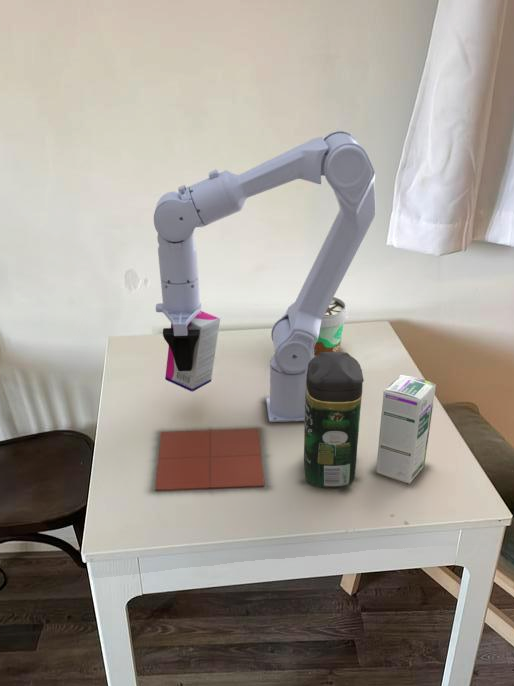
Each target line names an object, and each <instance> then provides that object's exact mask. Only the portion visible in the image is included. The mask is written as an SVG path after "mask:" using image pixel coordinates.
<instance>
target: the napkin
mask: <svg viewBox="0 0 514 686" xmlns="http://www.w3.org/2000/svg"><path fill="white" fill-rule="evenodd" d="M160 432H161V433H160V439H159V440H160V441H159V450H158V459H157V469H156V478H155V492H162V491H163V492H165V491H187V490H190V491H191V490H210V489H213V490H214V489H215V490H216V489H217V490H218V489H237V488H239V489H240V488H264V487H265V479H264V469H263V461H262V451H261V443H260V442H261V441H260V434H259V428H234V429H232V428H231V429H204V430H203V429H202V430H201V429H200V430H175V431H173V430H171V431H160Z"/></svg>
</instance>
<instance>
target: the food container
mask: <svg viewBox="0 0 514 686" xmlns="http://www.w3.org/2000/svg"><path fill="white" fill-rule="evenodd" d="M348 314H349V313H348V309H347V306H346V303H345V302H344V301H343V300H342V299H340V298H338V297H335V296H334V297H333V299H332V301H331V303H330V305H329V307H328V309H327V311H326V312H325V314H324V316H323V318H322V321H321V326H320V331H319V337H318V340H317V342H316V344H315V346H314V357H315V356H317V355H319V354H320V353H321V352H341V351H340V349H341V344H342V337H343V331H344V330H343V329H344V323H345V322H346V321H347V320H348V317H349V315H348Z"/></svg>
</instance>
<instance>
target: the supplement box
mask: <svg viewBox="0 0 514 686" xmlns="http://www.w3.org/2000/svg"><path fill="white" fill-rule="evenodd" d="M220 323H221V318H220V317H217V316H215V315H213V314H210V313H208V312H205V311H203V310H201V311H200V312H199V313H198V314H197V316H196V317H195V318H194V319H193V320H192V321H191V322H190V323H189V324H188V325H187V328H189V330H200V335H199V338H198V340H197V342H196V345H195V348H194V354H193V364H192V369H191V371H178V369H177V366H176V363H175V360H174V356H173V353H172V351H171V348H170V346H169V345H168V349H167V357H166V358H167V359H166V367H165V368H166V369H165V376H164V380H165V381H167V382H168V383H169V382H170V383H172V384H173V385H176V386H179V387H181V388H183V389H185V390H187V391H189V392H192V393H193V392H195V391H196V390H198V389H200V388H202V387H204V386H206V385H207V384H209V383H210V382H212V379H213V371H214V364H215V358H216V352H217V351H216V350H217V344H218V338H219V337H218V336H219V332H220V331H219V330H220ZM170 328H173V324H172V323H171V322H170Z"/></svg>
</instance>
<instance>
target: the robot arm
mask: <svg viewBox="0 0 514 686" xmlns="http://www.w3.org/2000/svg"><path fill="white" fill-rule="evenodd" d="M323 176H324V177H325V180H326V182H327V184H328V185H329V186H330V188H331V189H332V190H333V193H334V195H335V199H336V202H337V204H338V208H339V210H338V213H337V214H336V217H335V218H334V221H333V223H332V225H331V227H330V229H329V231H328V233H327V235H326V237H325V239H324V240H323V241H324V242H323V243H322V245H321V248H320V249H319V251H318V253H317V256H316V257H315V260H314V262H313V264H312V265H311V268H310V271H309V272H308V274H307V277H306V279H305V280H304V283H303V285H302V286H301V289H300V291H299V293H298V295H297V297H296V299H295V301H294V302H293V303H292V304H290V305H289V306H288V307H287V310H286V312H285V314H284V315H283V316H282V317H280V318H279V319H278V320H276V321H275V322H274V324H273V326H272V328H271V333H270V335H271V336H270V337H271V341H272V342H273V349H274V354H273V355H272V356H271V357H270V360H269V397H266V399H265V401H266V409H267V416H268V417H267V418H268V421H269V422H270V423H285V422H305V395H306V379H307V369H308V364H309V362H310V361H311V360H312V359H313V358H314V346H315V344H316V342H317V340H318V337H319V331H320V326H321V321H322V318H323V316H324V314H325V312H326V311H327V309H328V307H329V305H330V303H331V301H332V299H333V297H335V295H336V293H337V292H338V289H339V287H340V285H341V283H342V281H343V280H344V278H345V276H346V274H347V271H348V270H349V268H350V266H351V264H352V262H353V260H354V258H355V256H356V254H357V252H358V250H359V249H360V247H361V245H362V242H363V240H364V238H365V237H366V235H367V234H368V231H369V229H370V227H371V225H372V224H373V221H374V220H375V216H376V213H377V205H376V203H377V202H376V187H375V186H376V185H375V183H376V182H375V179H376V170H375V167H374V165H373V163H372V160H371V158H370V155H369V153H368V152H367V150H366V149H365V148H364V147H363V146H362V145H360V144H359V141H358V140H357V139H356V138H355V136H354V135H352V134H351V133H349V132H348V131H344V130H335V131H332V132H330V133H328V134H327V135H326V136H324V137H323V136H319V137H318V136H317V137H314V138H311V139H310V140H308V141H305V142H303V143H301V144H298V145H297V146H295V147H293V148H291V149H288V150H286V151H285V152H283V153H280V154H278V155H277V156H274V157H273V158H270V159H268V160H266V161H264V162H262V163H260V164H258V165H256V166H254V167H251V168H250V169H248V170H246V171H244V172H242V173H240V174H236V173H233V172H231V171H229V170H223V171H221V172H219V170H218V169H216V168H215V169H214V170H211V171H209V172H208V177H207V178H205V179H202V180H201V181H198V182H197V183H196V182H195V183H194V184H191V185H189V186H187V187H186V185H185V184H183V185H180V186H179V187H178V188H177V192H176V191H169V192H166V193H164V194H163V195H161V196H160V198H159V199H158V201H157V203H156V206H155V209H154V214H153V225H154V228H155V230H156V232H157V238H156V239H157V243H158V247H157V255H158V256H157V257H158V265H159V267H158V268H159V276H160V277H159V278H160V287H161V297H162V298H161V299H162V303H156V304H155V312H156V313H162V314H164V316H165V317H166V318H167V319H168V321H169V322H170V324H171V323H172V324H173V328H171V327H164V328H163V329H162V337H163V339H164V341H165V342H166V343H167V345H168V347H169V346H170V348H171V351H172V353H173V356H174V360H175V363H176V366H177V369H178V371H191V369H192V364H193V354H194V348H195V345H196V342H197V340H198V338H199V335H200V330H189V328H187V325H188V324H189V323H190V322H191V321H192V320H193V319H194V318H195V317H196V316H197V314H198V313H199V312H200V311H202V303H201V302H200V301H201V300H200V287H199V286H200V284H199V272H198V269H199V268H198V253H197V246H196V244H195V229H196V228H204V227H206V226H208V225H211V224H213V223H215V222H217V221H220V220H222V219H224V218H228V217H229V216H231V215H234V214H237V213H238V212H241V211H242V210H243V208H244V205H245V203H246V201H247V199H249V198H250V197H254V196H256V195H258V194H261V193H264V192H266V191H270V190H272V189H275V188H277V187H280V186H282V185H285V184H288V183H290V182H291V183H292V182H294V181H296V180H303V181H305V182H306V181H307V182H310V183H313V184H317V185H321V184H322V177H323Z"/></svg>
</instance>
